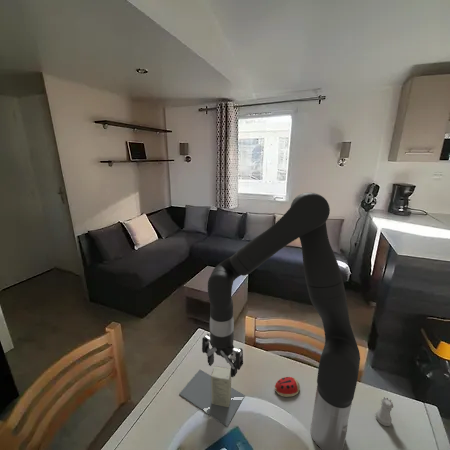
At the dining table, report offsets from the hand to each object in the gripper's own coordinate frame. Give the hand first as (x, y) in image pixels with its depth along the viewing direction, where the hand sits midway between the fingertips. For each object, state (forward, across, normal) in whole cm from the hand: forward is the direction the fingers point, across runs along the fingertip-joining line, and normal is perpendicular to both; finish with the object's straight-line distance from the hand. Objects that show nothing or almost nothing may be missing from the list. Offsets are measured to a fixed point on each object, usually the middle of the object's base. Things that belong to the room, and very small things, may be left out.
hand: (221, 369), depth 77 cm
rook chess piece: (+15, -48, -23) cm, 55 cm away
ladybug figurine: (+15, -18, -17) cm, 29 cm away
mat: (+14, +4, 0) cm, 15 cm away
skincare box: (+14, +1, 0) cm, 14 cm away
